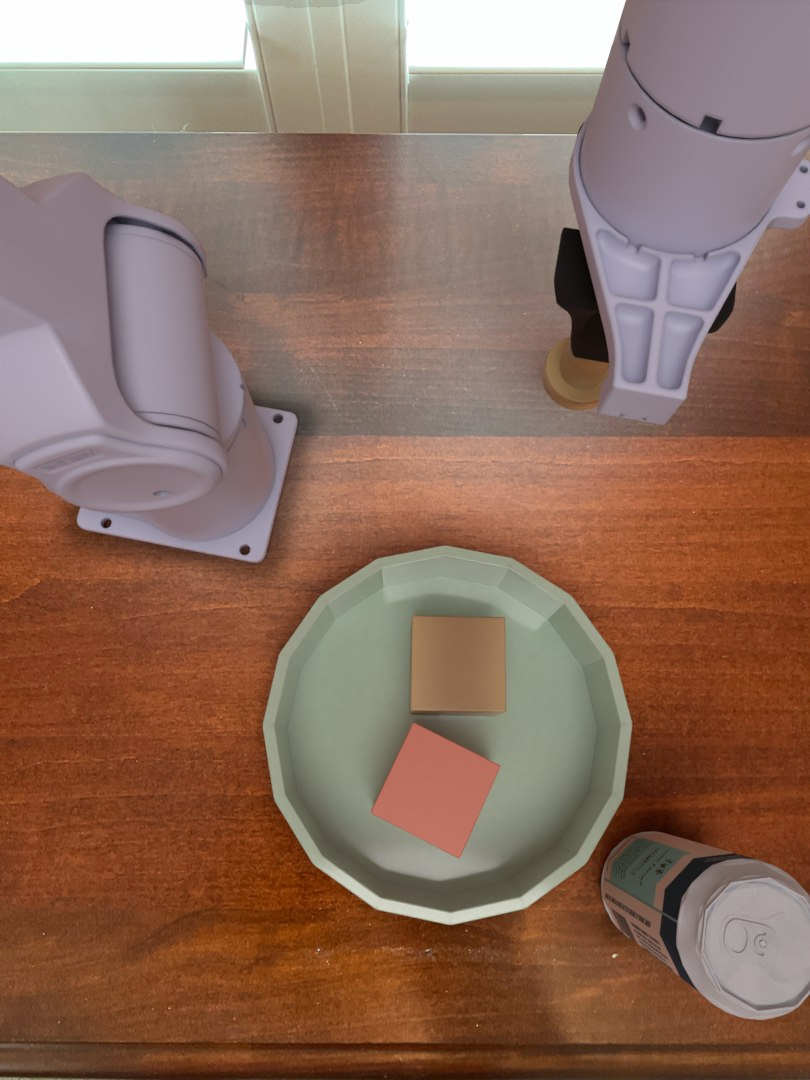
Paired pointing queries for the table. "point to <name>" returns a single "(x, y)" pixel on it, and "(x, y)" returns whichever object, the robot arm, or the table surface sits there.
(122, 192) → the table surface
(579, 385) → the tan tall round piece
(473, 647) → the block maple
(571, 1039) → the table surface
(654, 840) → the beer can
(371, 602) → the dish
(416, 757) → the block coral
